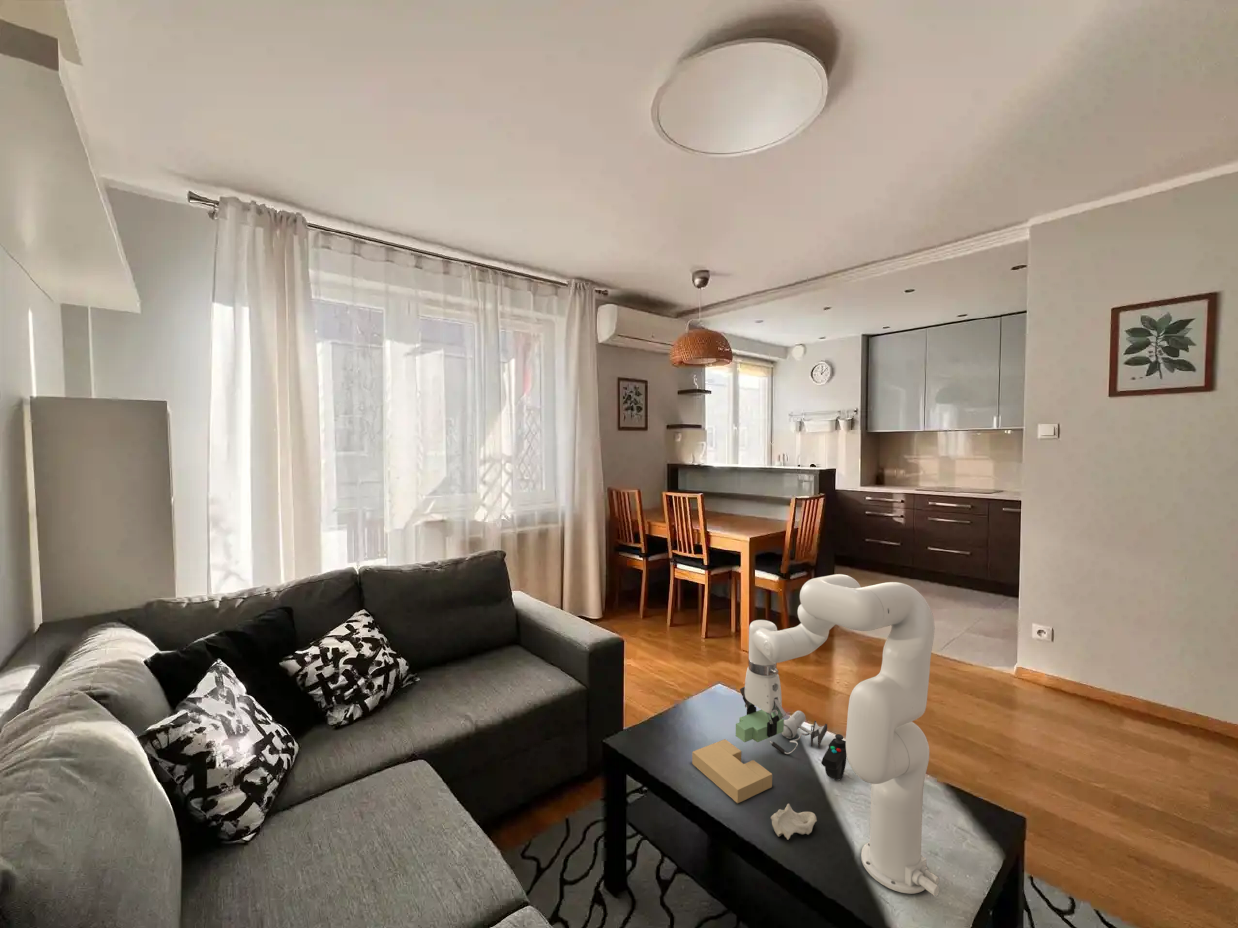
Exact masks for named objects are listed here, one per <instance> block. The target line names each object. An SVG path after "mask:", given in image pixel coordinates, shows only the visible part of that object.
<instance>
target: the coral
mask: <svg viewBox="0 0 1238 928" xmlns="http://www.w3.org/2000/svg"><path fill="white" fill-rule="evenodd" d="M770 820H771V826H772V829H773V830H774V832H775V834H776V836H777V837H781V836H782V835H783V836H784V838H786V840H788V841H789V839H791V836H793V835H794V834H795V833H797V834H799V835H802V836H803V835H810V834H811V833H812V832H813V828H814V825H815V823H816V822H818V820H817V816H816V814H815V813H814V812H812V811H802V812H801V811H800V812H796V811H794V810H793V809H792V806H791V804H790V803H787V804H786V807H785V808H784V809H781V808H780V809H778V810H777V811H776V812H775V813H773V814H771V816H770Z"/></svg>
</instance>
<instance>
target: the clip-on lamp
mask: <svg viewBox="0 0 1238 928" xmlns="http://www.w3.org/2000/svg"><path fill="white" fill-rule="evenodd" d="M783 720H784V732H782V733H781V735H782V736H783V737H785V738H786V739H790V740H789V743H794V744H796V745H795V746H794V749H792V750H791V751H790V752H786V750H785V749H784V748H783V747H781V746H780V745H779V744H777V743H776V742H775V741H771V740H769V743H770V744H771V745H770V746H772V747H773V748H774V749H776V750H777V751H778V752H779V753H781V754H786V755H790V754H792V753H793V752H794V751H795V750H796V749H797V747H798V745H799V743H798V741H799V740H800V739H801V738H802V736H809V735H810V747H813V746H814V739H815V738H817V748H818V749H820V748H821V743H822V742H823V740H824V737H825V736H826V734H827V732H828V723H824V725H822V726H819V725H818V723H817V720H814V721H813V724H812V725H811V724H810V730H809V729H808V728H806V727H804V726H803V724H804V723H805V721H806V720H807V719H806V714H805V713H804V712H803V711H801V710H796V711H795V712H793V713H792V714H791V715H790V717H789V718H788V719H783ZM798 729H800V730H801V731H803V732H805V733H803V732H801V733H800V734H799V737H798V738H796V739H793V738H795V737H796V735H797V734H798Z"/></svg>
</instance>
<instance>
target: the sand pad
mask: <svg viewBox="0 0 1238 928" xmlns="http://www.w3.org/2000/svg"><path fill="white" fill-rule="evenodd" d="M691 753H692V754H691V756H692V759H691V761H692V762H691V764H692V766H694V767H695V768H697V770H698V771H700V772H701V773H702V775H704V776H705V777H706V778H708V779H709V780H710V781H711V782H712V783H714V784H715V786H716V787H718V788H719V789H720V790H721V791H722V792H723V793H725V794H726V795H727V796H729V797H730V798H731V799H732V800H733V801H734V802H735V803H736V804H740V803H742V802H744V801H746V800H748V799H750V798H752V797H754V796H756V795H758V794H760V793H762V792H764V791H767V790H769V789H771V788H773V773H772V772H770V771H769V770H768V769H767V768H765V767H764V766H762V765H761V764H760V763H759V762H757V761H755V760H754V759H752V760H750V761H748V762H745V763H743V762H742V750H741V749H739V748H738V747H737V746H736V745H734V744H732V743H731V742H730V741H728V739H726V738H725V739H722V740H719V741H716V742H713V743H711V744H709V745H706V746H703V747H700V748H697V749H695V750H693V751H692V752H691Z"/></svg>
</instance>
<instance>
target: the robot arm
mask: <svg viewBox="0 0 1238 928" xmlns="http://www.w3.org/2000/svg"><path fill="white" fill-rule="evenodd" d="M799 602H800V604H799V605H798V607H797V617H798V620H799V624H798V625H796V626H794V627H790V628H784V629H779V630H778V627H777V625H776V624H775V623H774V622H772V621H770V620H766V619H756V620H753V621H751V622H750V624H749V627H748V666H747V668H746V673H745V679H744V686H743V687H741V688H740V689H739V692H740V694H741V697H742V700H743V702H744V707H745V708H746V715H748V714H751V713H754V712H756V711H757V708H758V709H759V710H763V711H765V712H766V714H767V717H768V720H769V722H768V723H767V736H768V737H770V738H772V737H775V736H777V735H778V734H777V722H778V721H780V720H781V719H784V718H785V717H786V716H787V713H786V711H785V709H784V708H783V703H782V702H783V699H782V687H781V686H782V685H781V680H780V675H779V669H777V668H778V663H779V664H780V663H784V662H788V661H791V660H794V659H798V658H801V657H805V656H806V657H807V656H808V655H810V654H812V653H813V652H815V651H816V650H817V649H818V648H820V646H822V645H823V644H824V643H825V642H826V641H827V639H828V638H829V634H830V630H832V628H834V627H835V626H836V625H837V626H840V627H843V628H846V629H849V630H853V631H858V632H871V631H875V630H879V629H882V628H886V627H890V626H891V628H890V632H889V633H888V635H887V638H886V640H885V642H884V645H883V648H882V659H881V667H880V671H879V673H877V674H876V675H875V676H872V677H870V678H867V679H864V680H861V681H860V682H859V683H857V684H856V685H855V686H854V687H853V689H852V691H851V693H850V695H849V699H848V708H847V719H846V729H845V730H846V731H845V741H846V754H847V758H846V759H847V761H848V763H849V766H850V768H851V770H852V771H853V772H854V774H855V775H856V776H857V777H858V778H859V779H861V780H862V781H864V782H866V783H867V784H870V810H869V811H870V812H869V815H870V817H869V841H868V842H866V843H865V844H864V845H863V846H862V847H861V852H860V859H861V863H862V866H863V867H864V869H865V870H866V872H867V873H868V874H869V876H870V877H872V878H873V879H874V880H875V882H877V883H879V884H881V885H882V886H884V887H885V888H888V889H890V890H892V891H895V892H898V893H901V894H910V895H911V894H912V895H913V894H918V893H919V894H920V893H921V892H923V891H925V890H926V891H927V892H928V893H930V894H931V895H933V897H938V895H939V893H940V886H939V883H940V877H938V876H937V875H936V874H934V873H933V872H931V871H930V870H929V869H928V867H927V858H926V857H924V856H923V855H922V838H923V837H922V834H923V833H922V831H923V807H924V806H923V805H924V787H925V779H926V775H927V770H928V766H929V761H930V745H929V742H928V739H927V736H926V735H925V733H924V731H923V730H922V729H921V727H919V725H918V724H916V723H915V722H914V721H916V720H918V719H919V718H921V717H923V715H924V714H925V712H926V709H927V704H928V693H929V682H930V675H931V673H930V672H931V658H932V651H933V646H934V640H935V629H936V628H935V619H934V615H933V611H932V609H931V606H930V605H929V603H928V601H927V599H926V598H925V597H924V595H922V594H921V592H919V591H918V590H917V589H916V588H914V587H913V586H911V585H909V584H906V583H904V582H898V581H889V582H882V583H881V582H880V583H877V584H873V585H868V586H867V585H866V586H862V587H861V584H860V583H859V582H858V581H857V580H856V579H855V578H854V577H851V576H850V575H846V574H842V573H838V574H837V573H836V574H830V575H824V576H818V577H814V578H811V579H808V580H807V581H806V582H804V584H803V585H802V587H801V589H800V591H799ZM771 713H773V715H774V717H773V718H772V715H771ZM776 734H777V735H776Z"/></svg>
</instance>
